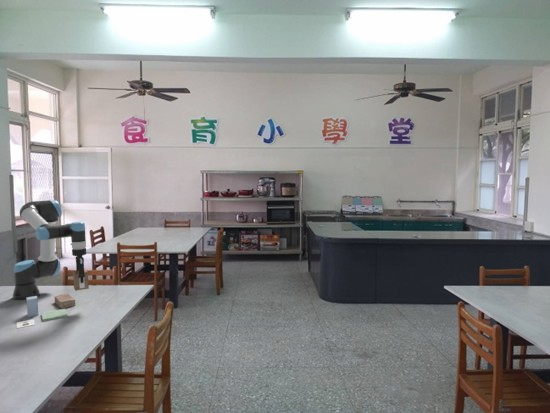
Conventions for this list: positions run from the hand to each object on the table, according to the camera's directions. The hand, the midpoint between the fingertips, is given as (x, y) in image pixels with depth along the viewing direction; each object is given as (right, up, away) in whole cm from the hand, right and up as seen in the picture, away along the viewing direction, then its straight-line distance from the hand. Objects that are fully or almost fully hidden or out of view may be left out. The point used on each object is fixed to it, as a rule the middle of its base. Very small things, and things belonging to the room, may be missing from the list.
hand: (81, 286), depth 230 cm
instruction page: (-20, -16, -20) cm, 33 cm away
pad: (-11, -15, -9) cm, 21 cm away
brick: (-16, -14, +12) cm, 24 cm away
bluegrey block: (-25, -15, -6) cm, 30 cm away
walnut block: (0, -1, 0) cm, 1 cm away
